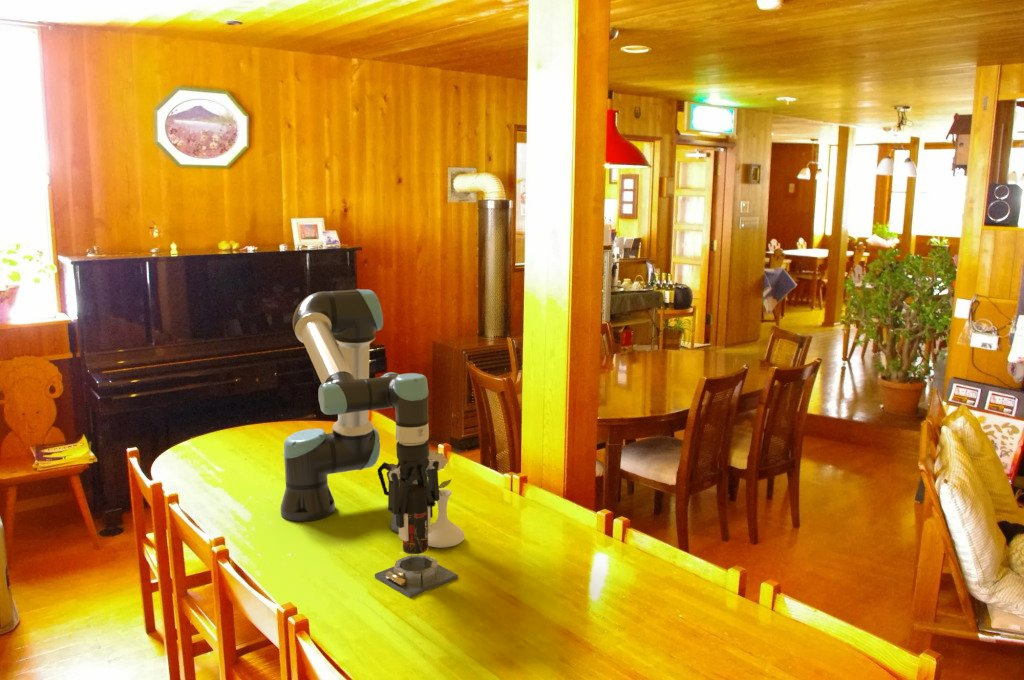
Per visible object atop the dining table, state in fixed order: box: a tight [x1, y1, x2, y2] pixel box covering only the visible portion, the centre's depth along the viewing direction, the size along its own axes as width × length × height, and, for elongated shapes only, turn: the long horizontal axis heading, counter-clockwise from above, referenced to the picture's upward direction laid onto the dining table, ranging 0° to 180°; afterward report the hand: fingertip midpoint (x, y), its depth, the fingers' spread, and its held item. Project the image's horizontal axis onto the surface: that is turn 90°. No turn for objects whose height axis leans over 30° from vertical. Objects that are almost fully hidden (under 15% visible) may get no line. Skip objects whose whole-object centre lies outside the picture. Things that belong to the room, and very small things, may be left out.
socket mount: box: [374, 554, 459, 599], centre depth 198 cm, size 14×14×4 cm
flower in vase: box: [427, 449, 466, 549], centre depth 216 cm, size 13×11×25 cm
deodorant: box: [402, 484, 429, 555], centre depth 195 cm, size 6×6×15 cm
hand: (415, 535), depth 196 cm, fingers closed on deodorant, 6 cm apart
